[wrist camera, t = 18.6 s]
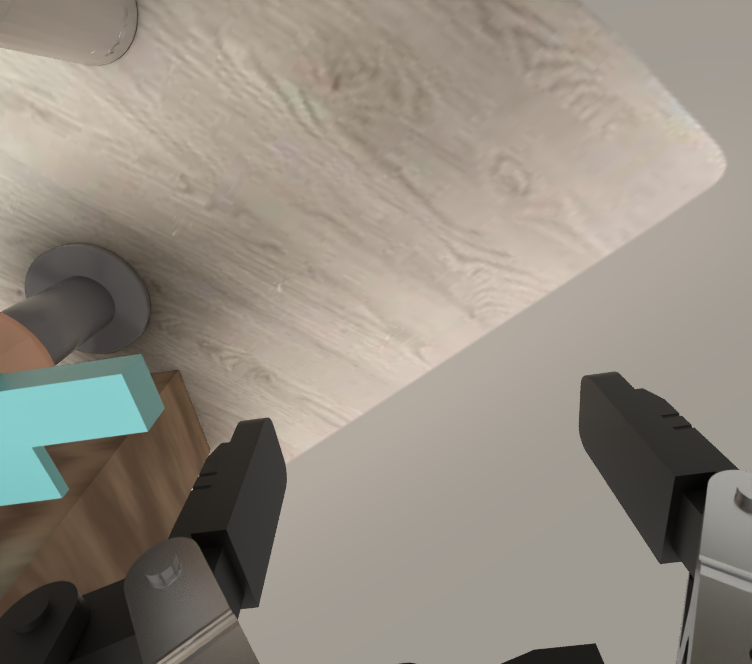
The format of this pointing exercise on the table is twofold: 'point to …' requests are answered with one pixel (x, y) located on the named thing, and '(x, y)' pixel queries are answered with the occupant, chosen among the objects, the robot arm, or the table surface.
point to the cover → (67, 418)
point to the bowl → (73, 308)
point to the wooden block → (105, 502)
